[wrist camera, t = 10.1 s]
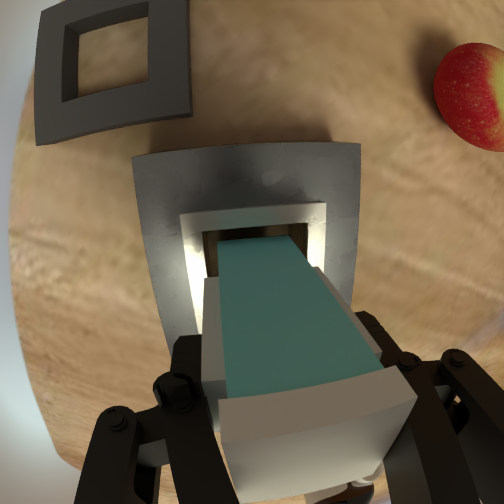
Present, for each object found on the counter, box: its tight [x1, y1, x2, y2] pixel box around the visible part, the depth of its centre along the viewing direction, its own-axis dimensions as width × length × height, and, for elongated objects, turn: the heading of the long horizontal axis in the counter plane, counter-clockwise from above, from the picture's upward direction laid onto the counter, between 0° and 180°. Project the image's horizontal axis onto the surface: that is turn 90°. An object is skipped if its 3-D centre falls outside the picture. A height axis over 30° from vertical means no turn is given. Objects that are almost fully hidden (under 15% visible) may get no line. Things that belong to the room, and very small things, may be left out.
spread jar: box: [304, 460, 384, 504], centre depth 29 cm, size 12×11×12 cm
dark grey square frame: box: [34, 0, 193, 146], centre depth 13 cm, size 10×10×2 cm
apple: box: [433, 43, 504, 152], centre depth 13 cm, size 8×8×10 cm
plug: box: [217, 235, 418, 504], centre depth 11 cm, size 4×4×12 cm
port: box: [132, 141, 361, 359], centre depth 18 cm, size 14×12×4 cm
